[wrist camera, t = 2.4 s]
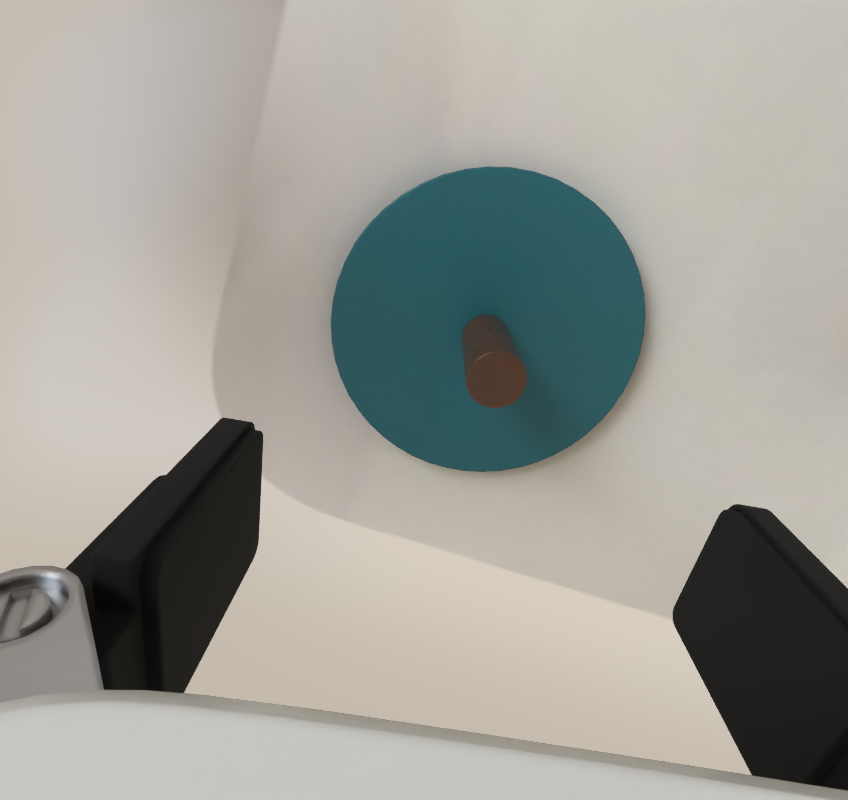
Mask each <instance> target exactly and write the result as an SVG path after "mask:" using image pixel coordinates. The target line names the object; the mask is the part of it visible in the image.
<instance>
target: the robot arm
mask: <svg viewBox="0 0 848 800" xmlns="http://www.w3.org/2000/svg"><path fill="white" fill-rule="evenodd" d="M262 451H263V434H262V432H261V431H257V430H255V427H254V424H253V423H252V422H247V421H241V420H235V419H229V418H222V419H220V420H219V421H218V422H217V423H216V425H215V426H214V427H213V428H212V429H211V430H210V431H209V432H208V433H207V434H206V435H205V436H204V437H203V438H202V439H201V440H200V441H199V442H198V443H197V444H196V445H195V446H194V447H193V448H192V449H191V450H190V451H189V452H188V453H187V454H186V455H185V456H184V457H183V458H182V460H181V461H179V462H178V464H177V465H176V466H175V467H174V468H173V469H172V470H171V471H170V472H169V473H168V474H167V475H163V476H159V477H158V478H156V479H155V480H154V481H153V482H152V483H151V484H150V485H149V486H148V487H147V488H146V489H145V490H144V491H143V492H142V493H141V494H140V495H139V496H138V497H137V498H136V499H135V500H134V501H133V502H132V503H131V504H130V505H129V506H128V507H127V508H126V509H125V510H124V511H123V512H122V513H121V514H120V515H119V516H118V517H117V518H116V519H115V520H114V521H113V522H112V523H111V524H110V525H109V526H108V527H107V528H106V529H105V530H104V531H103V532H102V533H101V534H100V535H99V536H98V537H97V538H96V539H95V540H94V541H93V542H92V543H91V544H90V545H89V546H88V547H87V548H86V549H85V550H84V551H83V552H82V553H81V554H80V555H79V556H78V557H77V558H76V559H75V560H74V561H73V562H72V563H71V564H70V565H69V566H68V567H67V568H66V569H62V568H58V567H54V566H31V567H25V568H19V569H14V570H10V571H7V572H4V573H1V574H0V800H848V588H847V587H846V586H845V585H844V584H843V583H842V582H841V581H840V580H839V579H838V578H837V577H836V576H835V575H834V574H833V573H832V572H831V571H830V570H829V569H828V568H827V567H826V566H825V565H824V564H823V563H822V562H821V561H820V560H819V559H818V558H817V557H816V556H815V555H814V554H813V553H812V552H811V551H810V550H809V549H808V548H807V547H806V546H805V545H804V544H803V543H802V542H801V541H800V540H799V539H798V538H797V537H796V536H795V535H794V534H793V533H792V532H791V531H790V530H789V529H788V528H787V527H786V526H785V525H784V524H783V523H782V522H781V521H780V520H779V519H778V518H777V517H776V516H775V515H774V514H773V513H772V512H770V511H769V510H767V509H763V508H757V507H751V506H745V505H739V504H736V505H733V506H731V507H730V508H729V509H728V510H724V511H722V512H721V513H720V515H719V517H718V519H717V521H716V523H715V525H714V527H713V529H712V531H711V533H710V535H709V537H708V539H707V541H706V543H705V545H704V547H703V549H702V551H701V553H700V555H699V557H698V559H697V561H696V563H695V565H694V567H693V569H692V572H691V574H690V576H689V578H688V580H687V582H686V584H685V586H684V588H683V590H682V592H681V594H680V596H679V598H678V600H677V602H676V604H675V606H674V609H673V622H674V625H675V627H676V629H677V632H678V633H679V635H680V637H681V639H682V641H683V643H684V645H685V647H686V649H687V651H688V653H689V655H690V657H691V659H692V660H693V662H694V664H695V666H696V668H697V670H698V672H699V674H700V676H701V678H702V680H703V682H704V683H705V686H706V687H707V689H708V691H709V693H710V695H711V697H712V699H713V701H714V703H715V705H716V707H717V709H718V710H719V712H720V714H721V716H722V718H723V720H724V722H725V724H726V726H727V728H728V730H729V732H730V734H731V736H732V738H733V739H734V741H735V743H736V745H737V747H738V749H739V751H740V753H741V755H742V757H743V758H744V760H745V762H746V765H747V766H748V768H749V770H750V772H751V774H752V775H745V774H739V773H733V772H726V771H720V770H714V769H708V768H702V767H695V766H689V765H682V764H676V763H669V762H663V761H656V760H650V759H643V758H637V757H631V756H624V755H618V754H611V753H605V752H598V751H592V750H585V749H578V748H572V747H565V746H558V745H552V744H546V743H539V742H532V741H526V740H519V739H513V738H506V737H500V736H493V735H486V734H479V733H472V732H466V731H459V730H452V729H445V728H439V727H432V726H424V725H419V724H412V723H405V722H398V721H391V720H385V719H377V718H371V717H364V716H357V715H350V714H344V713H337V712H330V711H323V710H316V709H308V708H301V707H293V706H286V705H278V704H270V703H262V702H254V701H247V700H239V699H231V698H223V697H216V696H208V695H198V694H185V693H184V691H185V689H186V687H187V686H188V683H189V682H190V680H191V678H192V676H193V674H194V672H195V670H196V668H197V666H198V664H199V662H200V661H201V659H202V657H203V655H204V653H205V651H206V649H207V647H208V645H209V643H210V641H211V639H212V637H213V636H214V634H215V632H216V630H217V628H218V626H219V624H220V622H221V620H222V618H223V616H224V614H225V612H226V611H227V609H228V607H229V605H230V603H231V601H232V599H233V597H234V595H235V593H236V591H237V589H238V587H239V586H240V583H241V581H242V580H243V578H244V576H245V574H246V572H247V570H248V568H249V566H250V564H251V562H252V561H253V558H254V556H255V553H256V550H257V546H258V540H259V518H260V517H259V516H260V496H261V474H262Z"/></svg>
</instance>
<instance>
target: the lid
mask: <svg viewBox="0 0 848 800" xmlns="http://www.w3.org/2000/svg"><path fill="white" fill-rule="evenodd" d="M644 322H645V305H644V292H643V287H642V283H641V278H640V273H639V270H638V268H637V265H636V262H635V259H634V257H633V254H632V252H631V250H630V248H629V246H628V245H627V243H626V241H625V239H624V237H623V235H622V234H621V233H620V231H619V230H618V229H617V227H616V226H615V225H614V223H613V222H612V221H611V219H610V218H609V217H608V216H607V215H606V214H605V213H604V212H603V211H602V210H601V209H600V208H599V207H598V206H597V205H596V204H595V203H594V202H593V201H591V200H590V199H588V198H587V197H586V196H584V195H583V194H581V193H580V192H579V191H577V190H576V189H574V188H572V187H570V186H568V185H566V184H564V183H562V182H560V181H559V180H557V179H554V178H551V177H548V176H545V175H542V174H539V173H537V172H533V171H528V170H522V169H517V168H511V167H481V168H472V169H464V170H460V171H456V172H452V173H448V174H444V175H441V176H439V177H436V178H434V179H431V180H429V181H427V182H424V183H422V184H420V185H418V186H416V187H415V188H413V189H411V190H410V191H408V192H406V193H404V194H403V195H401V196H400V197H399V198H397V199H396V200H395V201H393V202H392V203H391V204H390V205H388V206H387V207H386V208H385V209H383V210H382V211H381V212H380V213H379V214H378V216H377V217H376V218H375V219H374V220H373V221H372V222H371V223H370V224H369V225H368V226H367V227H366V229H365V230H364V231H363V233H362V234H361V236H360V237H359V238H358V240H357V241H356V242H355V244H354V246H353V248H352V250H351V251H350V253H349V255H348V257H347V259H346V261H345V263H344V266H343V268H342V271H341V273H340V276H339V279H338V281H337V286H336V290H335V294H334V299H333V306H332V317H331V332H332V344H333V350H334V356H335V361H336V364H337V367H338V370H339V373H340V376H341V379H342V381H343V383H344V385H345V388H346V390H347V392H348V394H349V396H350V397H351V399H352V400H353V402H354V404H355V405H356V407H357V408H358V410H359V411H360V412H361V414H362V415H363V416H364V417H365V418H366V420H367V421H368V422H369V423H370V424H371V425H372V426H373V427H374V428H375V429H376V430H377V431H378V432H379V433H380V434H381V435H382V436H383V437H385V438H386V439H387V440H389V441H390V442H391V443H393V444H394V445H396V446H397V447H398V448H400V449H402V450H404V451H405V452H407V453H409V454H411V455H413V456H415V457H417V458H419V459H422V460H424V461H427V462H429V463H432V464H436V465H439V466H443V467H446V468H451V469H457V470H464V471H480V472H485V471H501V470H507V469H513V468H518V467H522V466H526V465H529V464H532V463H536V462H539V461H541V460H543V459H546V458H548V457H550V456H553V455H555V454H557V453H559V452H560V451H562V450H564V449H566V448H567V447H569V446H571V445H572V444H574V443H575V442H576V441H578V440H579V439H581V438H582V437H583V436H585V435H586V434H587V433H588V432H589V431H591V430H592V429H593V428H594V427H595V426H596V425H597V424H598V423H599V422H600V421H601V420H602V419H603V418H604V417H605V416H606V414H607V413H608V412H609V411H610V410H611V409H612V407H613V406H614V405H615V403H616V402H617V400H618V399H619V397H620V396H621V394H622V393H623V391H624V389H625V387H626V385H627V383H628V381H629V379H630V377H631V375H632V374H633V371H634V368H635V365H636V362H637V360H638V357H639V354H640V349H641V344H642V340H643V335H644Z"/></svg>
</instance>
